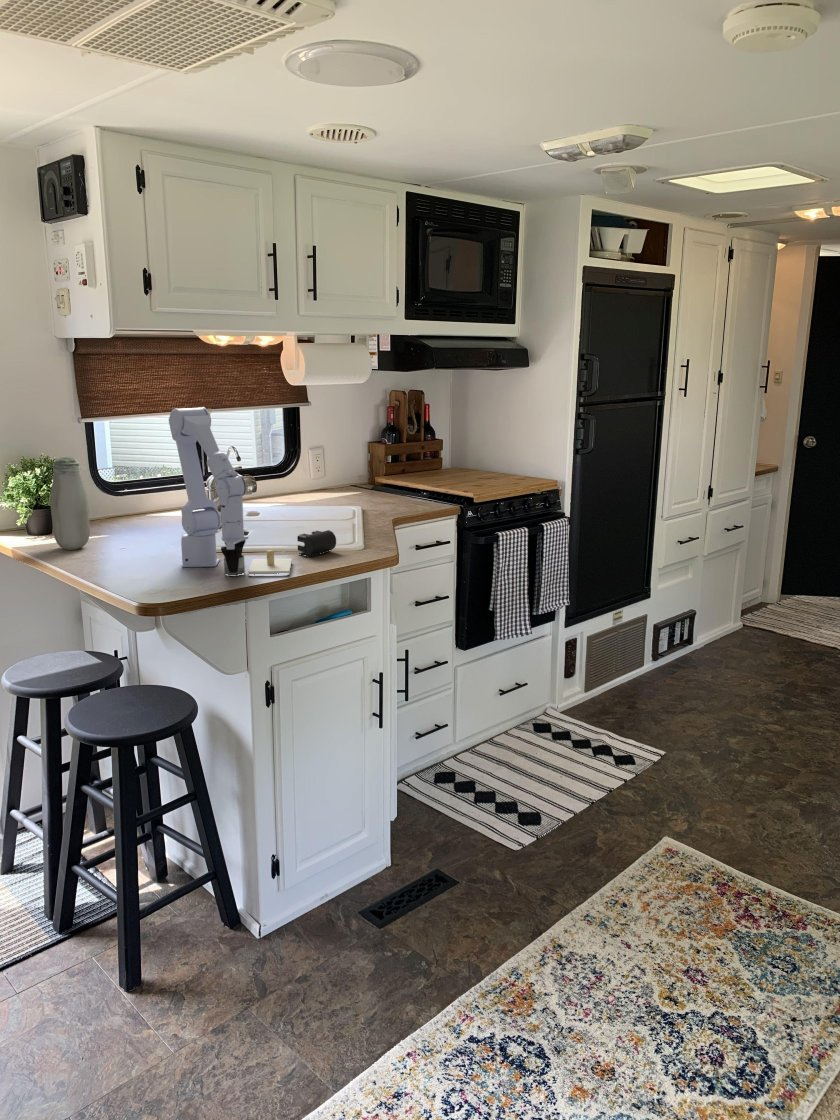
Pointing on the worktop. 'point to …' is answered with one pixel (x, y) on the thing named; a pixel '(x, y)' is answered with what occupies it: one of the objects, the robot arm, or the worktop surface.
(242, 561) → the sleeve
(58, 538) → the grey bottle
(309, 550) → the black cylinder
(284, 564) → the board
